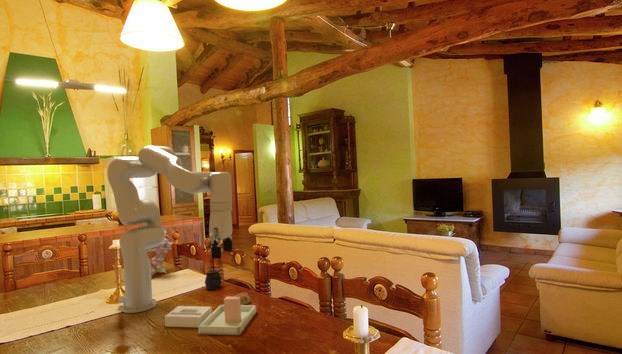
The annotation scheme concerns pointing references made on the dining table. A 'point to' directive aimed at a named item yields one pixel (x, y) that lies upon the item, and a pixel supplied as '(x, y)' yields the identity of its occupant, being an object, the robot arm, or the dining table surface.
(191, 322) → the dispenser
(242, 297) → the pastry
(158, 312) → the dining table surface
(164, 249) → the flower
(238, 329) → the tray
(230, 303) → the tan flat block
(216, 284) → the mate gourd
